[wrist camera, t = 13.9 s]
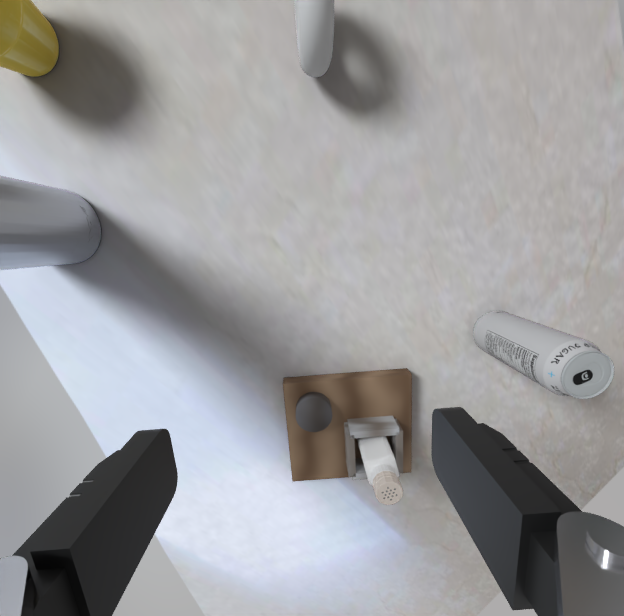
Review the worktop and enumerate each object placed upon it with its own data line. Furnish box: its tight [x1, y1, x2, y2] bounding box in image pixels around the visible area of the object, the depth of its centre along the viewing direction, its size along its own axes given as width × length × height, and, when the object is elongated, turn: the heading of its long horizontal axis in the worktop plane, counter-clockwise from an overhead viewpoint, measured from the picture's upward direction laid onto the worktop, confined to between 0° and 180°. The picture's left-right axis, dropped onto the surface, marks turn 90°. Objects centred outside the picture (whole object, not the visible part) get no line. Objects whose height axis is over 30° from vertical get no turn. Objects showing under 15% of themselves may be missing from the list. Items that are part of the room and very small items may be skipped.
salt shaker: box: [357, 436, 403, 505], centre depth 39 cm, size 4×4×10 cm
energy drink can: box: [473, 311, 614, 399], centre depth 35 cm, size 6×6×15 cm
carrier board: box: [283, 368, 412, 481], centre depth 42 cm, size 18×16×5 cm
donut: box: [294, 0, 334, 77], centre depth 29 cm, size 10×3×10 cm, turn 5°
